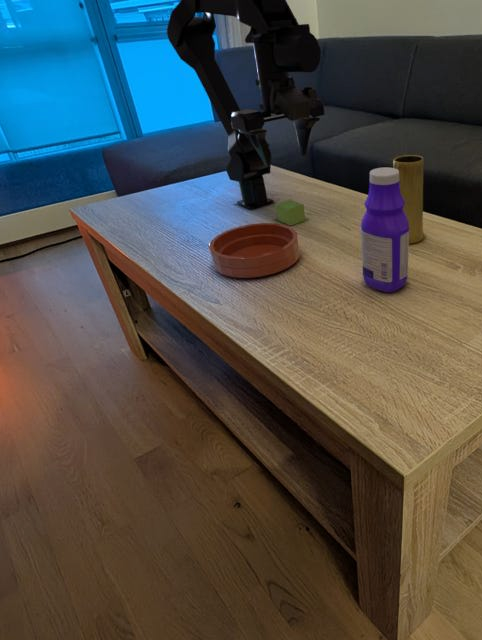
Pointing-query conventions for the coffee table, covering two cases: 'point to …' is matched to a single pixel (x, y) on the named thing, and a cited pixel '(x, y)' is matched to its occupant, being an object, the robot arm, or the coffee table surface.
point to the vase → (412, 192)
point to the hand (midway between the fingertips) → (285, 160)
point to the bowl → (255, 250)
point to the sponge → (290, 212)
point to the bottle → (385, 233)
